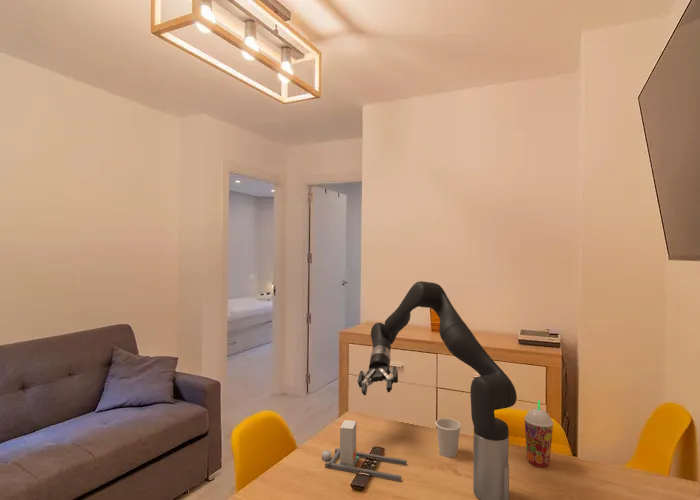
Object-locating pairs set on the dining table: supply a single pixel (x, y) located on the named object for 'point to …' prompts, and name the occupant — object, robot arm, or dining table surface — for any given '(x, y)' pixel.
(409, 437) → the dining table surface
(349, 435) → the skincare box
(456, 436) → the dixie cup
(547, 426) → the smoothie
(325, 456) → the guide channel
